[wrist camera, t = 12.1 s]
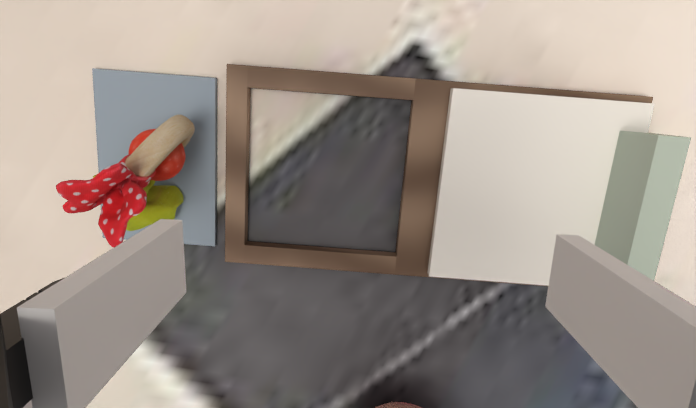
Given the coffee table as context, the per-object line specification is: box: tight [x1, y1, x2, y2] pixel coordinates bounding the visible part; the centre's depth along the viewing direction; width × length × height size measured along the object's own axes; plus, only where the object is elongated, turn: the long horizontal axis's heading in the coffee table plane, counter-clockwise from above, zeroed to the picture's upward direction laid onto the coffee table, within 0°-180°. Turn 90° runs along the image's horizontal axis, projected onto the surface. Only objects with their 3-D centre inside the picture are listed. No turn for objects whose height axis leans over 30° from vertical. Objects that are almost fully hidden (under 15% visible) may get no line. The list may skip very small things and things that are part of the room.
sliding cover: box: [427, 88, 691, 286], centre depth 30 cm, size 14×14×5 cm
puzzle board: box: [225, 64, 653, 286], centre depth 33 cm, size 15×30×1 cm, turn 86°
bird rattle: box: [56, 115, 195, 247], centre depth 28 cm, size 6×11×9 cm
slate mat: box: [92, 69, 217, 246], centre depth 33 cm, size 13×9×1 cm
